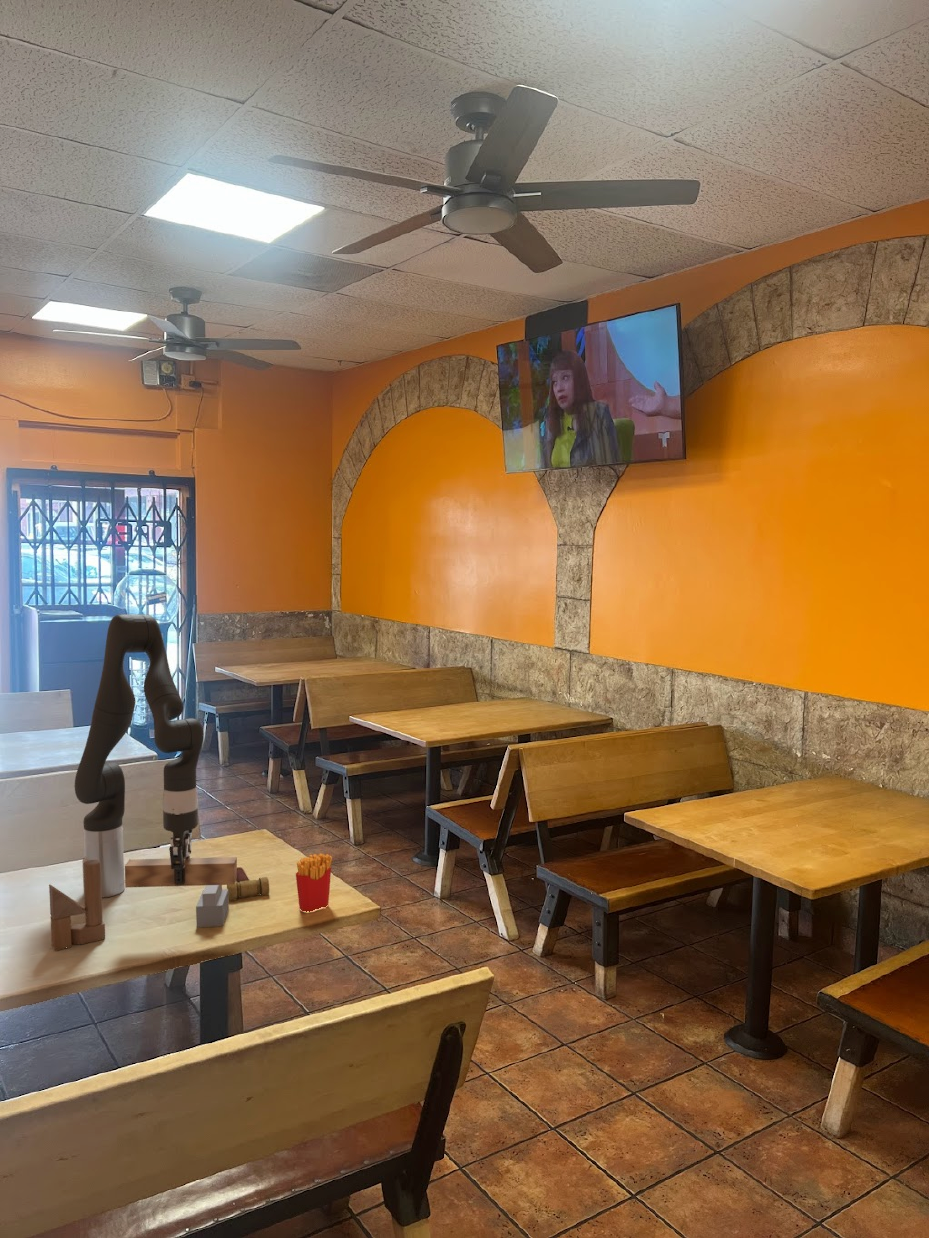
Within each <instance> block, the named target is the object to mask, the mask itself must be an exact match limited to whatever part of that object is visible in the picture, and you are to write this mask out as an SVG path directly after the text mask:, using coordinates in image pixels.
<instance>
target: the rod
mask: <svg viewBox="0 0 929 1238" xmlns="http://www.w3.org/2000/svg"><path fill="white" fill-rule="evenodd" d="M237 861H238V858H237V856H230V857H229V856H222V857H216V856H214V857H190V858H185V883H184V884H183V885H176V884H175V883H174V869H171V859H170V858H141V859H140V858H138V859H134V858H133V859H131V858H130V859H128V861H127V862H126V863H125V864H124V880H125V889H126V888H155V887H159V888H160V887H189V886H190V887H191V886H192V887H195V886H206V885H222V886H227V885H235V882H236V883H237V867H238V863H237ZM176 863H180V862H179V861H176Z"/></svg>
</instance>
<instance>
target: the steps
mask: <svg viewBox="0 0 929 1238" xmlns="http://www.w3.org/2000/svg"><path fill="white" fill-rule="evenodd" d="M204 886H205V887H204V888H203V890H202V892H201V894H200V896H199V899H198V901H197V904H196V906H195V915H196V919H195V920H196V928H207V927H209V928H210V927H211V928H212V927H224V924H225V922H226V919H227V915H228V912H229V910H230V909H229V908H230V907H229V906H230V905H229V903H230V902H229V901H230V900H229V898H228V889H227V888H223V885H204Z"/></svg>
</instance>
